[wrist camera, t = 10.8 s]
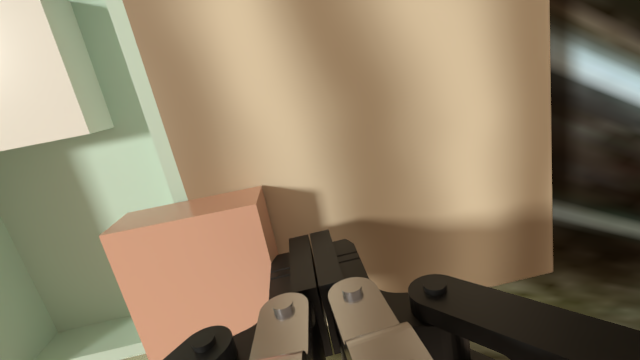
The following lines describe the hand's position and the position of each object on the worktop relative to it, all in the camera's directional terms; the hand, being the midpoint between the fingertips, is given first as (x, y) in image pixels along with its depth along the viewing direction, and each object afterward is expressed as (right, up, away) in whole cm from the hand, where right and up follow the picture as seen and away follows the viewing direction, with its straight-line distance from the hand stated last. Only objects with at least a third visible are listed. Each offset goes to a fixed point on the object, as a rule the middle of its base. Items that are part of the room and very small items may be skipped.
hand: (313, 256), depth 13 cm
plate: (+2, +6, +4) cm, 7 cm away
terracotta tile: (-4, 0, +1) cm, 4 cm away
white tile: (-11, +6, 0) cm, 13 cm away
